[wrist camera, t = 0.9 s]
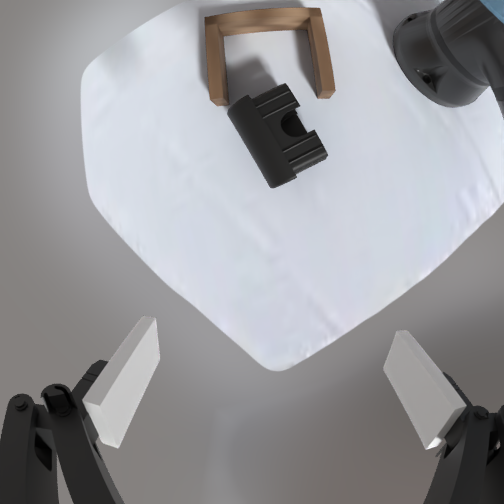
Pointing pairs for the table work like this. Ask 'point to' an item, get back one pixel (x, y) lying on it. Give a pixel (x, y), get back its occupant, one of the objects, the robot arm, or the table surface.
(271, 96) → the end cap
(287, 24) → the corral
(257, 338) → the table surface
